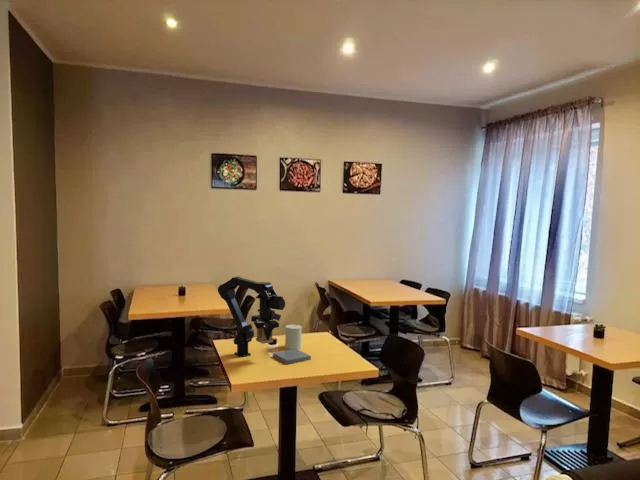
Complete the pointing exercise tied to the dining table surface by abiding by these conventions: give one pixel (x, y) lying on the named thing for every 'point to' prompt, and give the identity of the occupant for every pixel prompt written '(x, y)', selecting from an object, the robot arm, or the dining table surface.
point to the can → (293, 336)
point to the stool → (263, 336)
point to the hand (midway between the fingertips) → (264, 338)
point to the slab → (291, 356)
